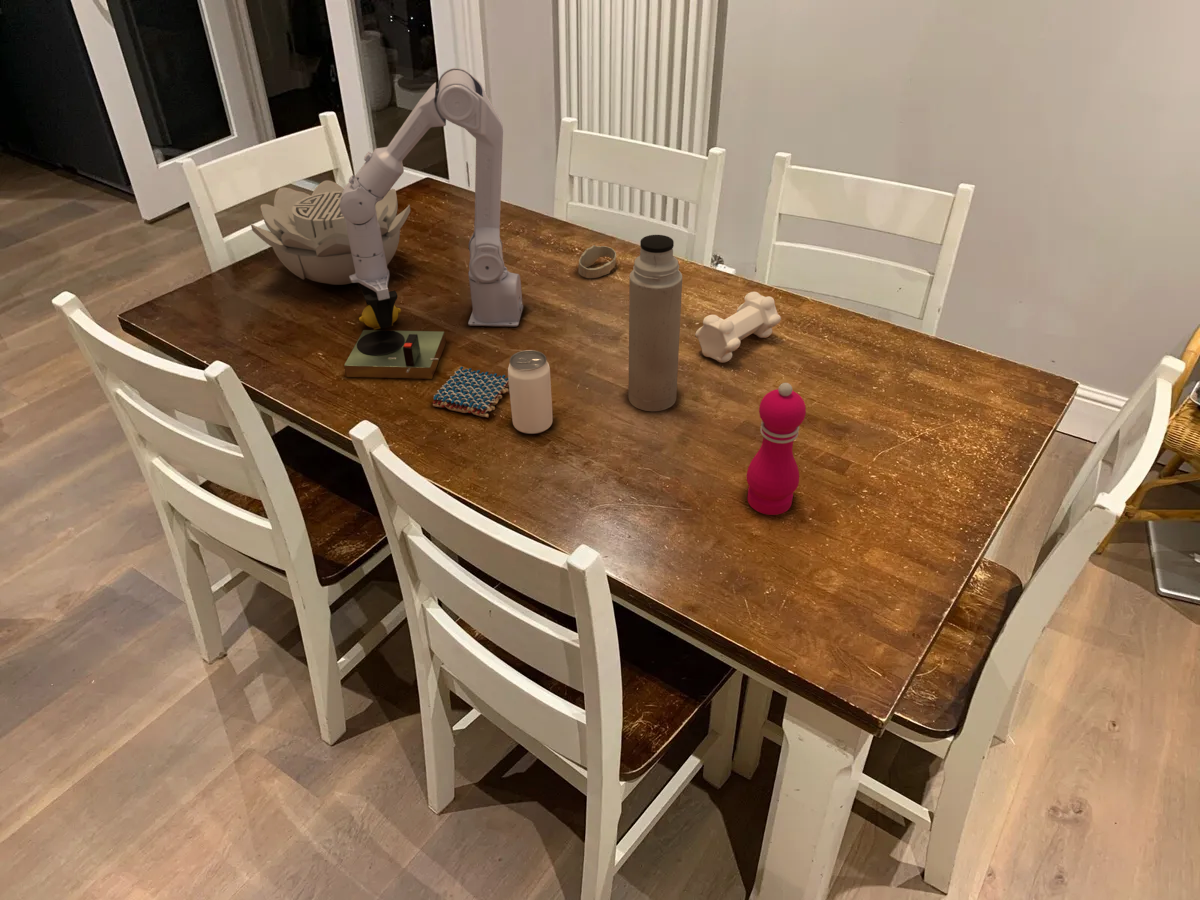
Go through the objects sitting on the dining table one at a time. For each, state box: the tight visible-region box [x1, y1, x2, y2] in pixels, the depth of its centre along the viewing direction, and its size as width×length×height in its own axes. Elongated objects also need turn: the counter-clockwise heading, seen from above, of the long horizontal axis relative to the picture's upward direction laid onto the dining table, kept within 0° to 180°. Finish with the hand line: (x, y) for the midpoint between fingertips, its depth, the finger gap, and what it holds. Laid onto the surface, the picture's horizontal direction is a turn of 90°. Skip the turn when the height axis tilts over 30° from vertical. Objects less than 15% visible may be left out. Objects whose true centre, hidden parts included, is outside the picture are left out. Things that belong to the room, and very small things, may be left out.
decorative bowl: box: [250, 179, 411, 286], centre depth 176 cm, size 30×30×15 cm
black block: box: [403, 334, 420, 366], centre depth 148 cm, size 5×2×4 cm, turn 176°
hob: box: [343, 329, 447, 380], centre depth 152 cm, size 16×14×3 cm
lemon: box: [358, 304, 402, 330], centre depth 162 cm, size 8×4×4 cm, turn 116°
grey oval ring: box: [577, 244, 617, 279], centre depth 178 cm, size 9×6×5 cm
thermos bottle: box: [627, 234, 683, 412], centre depth 134 cm, size 8×8×28 cm
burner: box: [356, 329, 405, 356], centre depth 153 cm, size 8×8×1 cm
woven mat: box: [432, 366, 510, 419], centre depth 143 cm, size 10×11×2 cm
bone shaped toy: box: [694, 291, 782, 364], centre depth 153 cm, size 15×9×8 cm, turn 135°
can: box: [507, 349, 554, 435], centre depth 134 cm, size 6×6×12 cm
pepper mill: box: [745, 382, 807, 516], centre depth 116 cm, size 7×7×20 cm
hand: (380, 317), depth 162 cm, fingers open, 7 cm apart
